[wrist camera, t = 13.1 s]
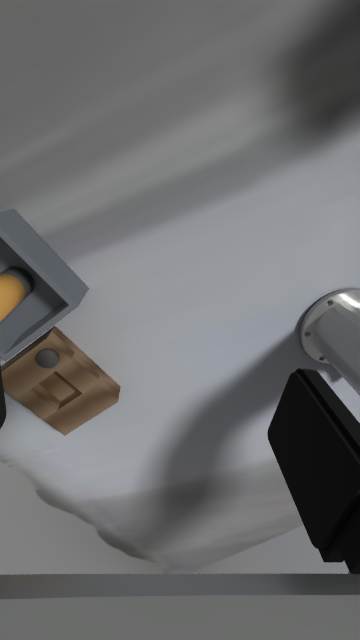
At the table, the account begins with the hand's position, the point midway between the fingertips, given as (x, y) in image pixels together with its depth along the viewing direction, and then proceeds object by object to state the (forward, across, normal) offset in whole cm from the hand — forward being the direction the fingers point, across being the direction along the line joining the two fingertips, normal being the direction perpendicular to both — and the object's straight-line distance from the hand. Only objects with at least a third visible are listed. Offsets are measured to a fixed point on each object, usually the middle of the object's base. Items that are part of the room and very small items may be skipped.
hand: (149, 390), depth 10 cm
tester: (+30, +11, +24) cm, 40 cm away
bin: (+30, +17, +9) cm, 36 cm away
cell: (+30, +16, +9) cm, 35 cm away
